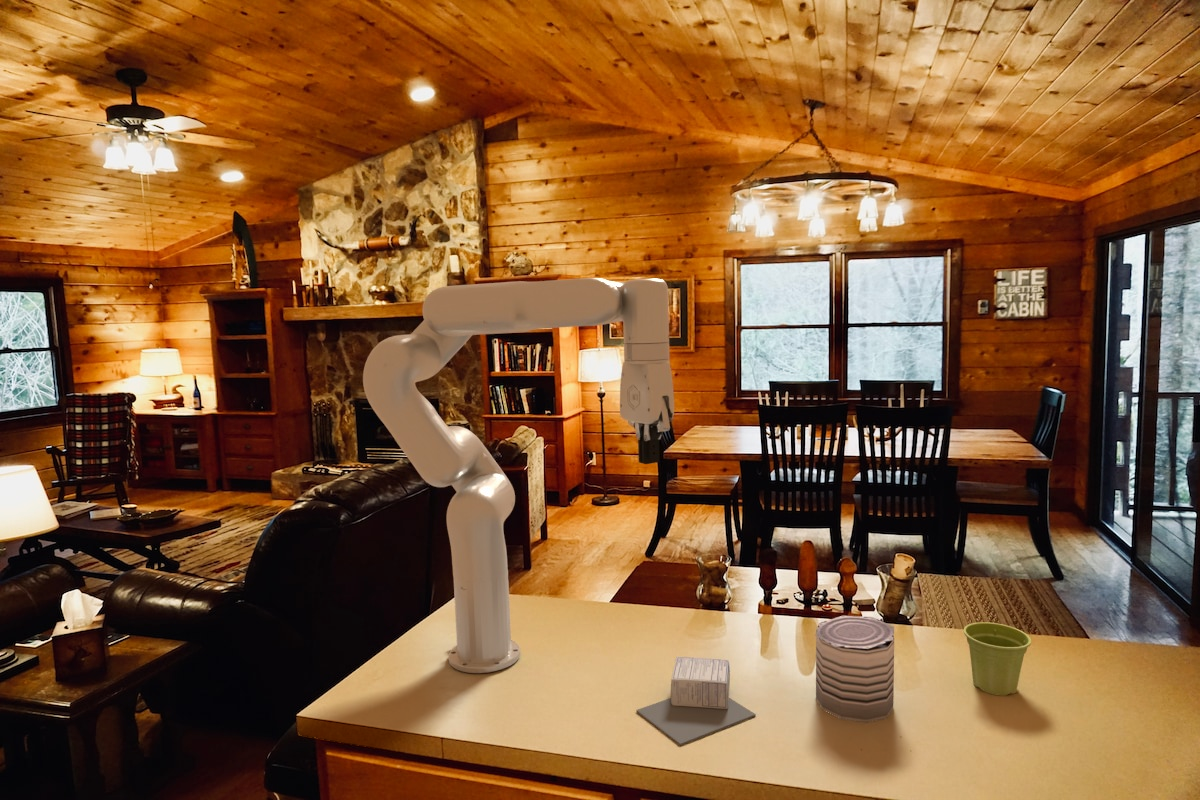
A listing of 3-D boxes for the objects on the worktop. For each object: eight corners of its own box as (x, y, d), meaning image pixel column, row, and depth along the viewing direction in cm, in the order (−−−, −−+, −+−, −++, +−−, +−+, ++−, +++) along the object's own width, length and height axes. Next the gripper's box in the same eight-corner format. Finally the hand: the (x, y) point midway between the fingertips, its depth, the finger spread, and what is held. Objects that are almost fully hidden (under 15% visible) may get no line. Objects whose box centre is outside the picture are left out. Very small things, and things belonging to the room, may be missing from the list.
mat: (636, 711, 115) (636, 710, 115) (708, 686, 123) (708, 684, 123) (680, 745, 106) (680, 743, 106) (755, 716, 113) (755, 714, 113)
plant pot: (1026, 678, 122) (1028, 627, 121) (1032, 706, 114) (1034, 651, 113) (962, 669, 126) (963, 618, 125) (962, 695, 118) (963, 641, 117)
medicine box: (670, 706, 116) (728, 711, 114) (670, 678, 116) (728, 682, 114) (676, 681, 124) (730, 685, 122) (675, 655, 123) (729, 659, 122)
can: (895, 727, 109) (896, 648, 108) (813, 716, 113) (813, 639, 111) (892, 690, 120) (893, 617, 118) (817, 681, 123) (817, 610, 122)
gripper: (603, 353, 131) (607, 458, 133) (654, 356, 118) (656, 472, 120) (640, 351, 135) (642, 453, 137) (692, 354, 122) (694, 466, 124)
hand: (649, 462), depth 128 cm, fingers closed
